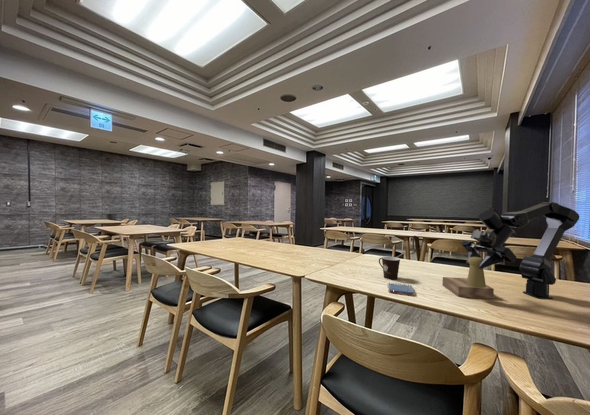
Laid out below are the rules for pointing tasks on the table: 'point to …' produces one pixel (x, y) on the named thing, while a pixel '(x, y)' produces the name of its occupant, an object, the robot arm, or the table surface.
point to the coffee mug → (390, 267)
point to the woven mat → (401, 289)
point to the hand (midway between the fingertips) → (473, 266)
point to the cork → (476, 273)
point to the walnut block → (466, 288)
